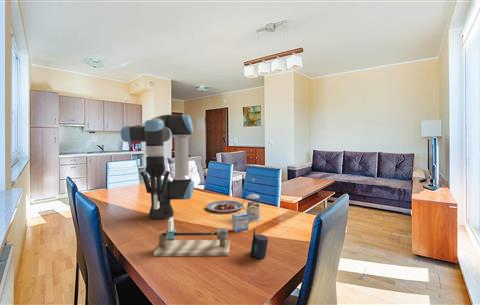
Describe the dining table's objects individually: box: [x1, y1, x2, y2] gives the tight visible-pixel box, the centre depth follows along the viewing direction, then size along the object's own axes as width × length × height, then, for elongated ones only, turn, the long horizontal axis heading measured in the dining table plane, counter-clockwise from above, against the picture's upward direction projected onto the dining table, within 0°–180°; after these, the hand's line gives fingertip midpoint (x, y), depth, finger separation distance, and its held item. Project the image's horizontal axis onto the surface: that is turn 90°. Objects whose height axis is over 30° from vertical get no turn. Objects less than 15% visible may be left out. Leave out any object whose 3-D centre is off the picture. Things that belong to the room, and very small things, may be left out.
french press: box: [241, 178, 262, 222], centre depth 146 cm, size 10×12×25 cm
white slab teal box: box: [165, 216, 177, 241], centre depth 107 cm, size 3×4×9 cm
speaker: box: [250, 228, 269, 260], centre depth 101 cm, size 8×6×10 cm
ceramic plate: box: [206, 199, 244, 213], centre depth 169 cm, size 26×26×3 cm
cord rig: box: [153, 227, 231, 257], centre depth 108 cm, size 32×12×9 cm, turn 90°
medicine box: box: [231, 212, 250, 233], centre depth 129 cm, size 8×4×9 cm, turn 117°
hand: (156, 208), depth 106 cm, fingers closed
